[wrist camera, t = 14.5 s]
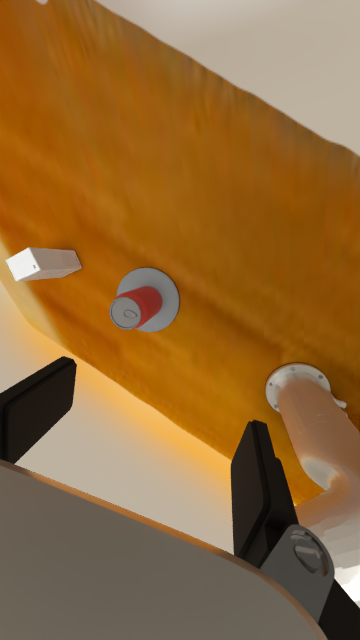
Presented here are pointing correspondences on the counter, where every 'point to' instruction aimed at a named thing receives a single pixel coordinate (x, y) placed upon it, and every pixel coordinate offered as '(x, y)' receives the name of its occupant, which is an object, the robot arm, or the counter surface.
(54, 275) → the skincare box
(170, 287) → the slate mat
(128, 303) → the beer can
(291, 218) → the counter surface
